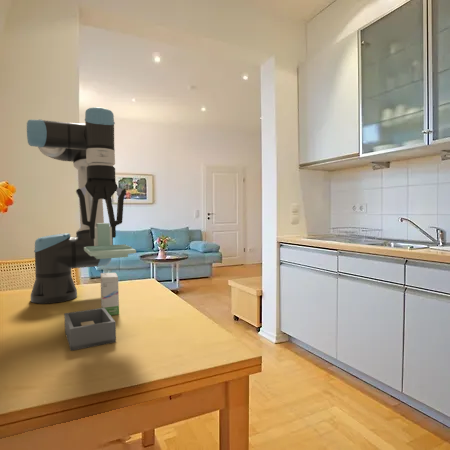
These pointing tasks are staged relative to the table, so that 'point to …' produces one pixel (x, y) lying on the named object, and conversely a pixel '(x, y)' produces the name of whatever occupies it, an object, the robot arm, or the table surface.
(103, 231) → the lid
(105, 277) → the ink box
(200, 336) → the table surface
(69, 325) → the tub
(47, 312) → the table surface
